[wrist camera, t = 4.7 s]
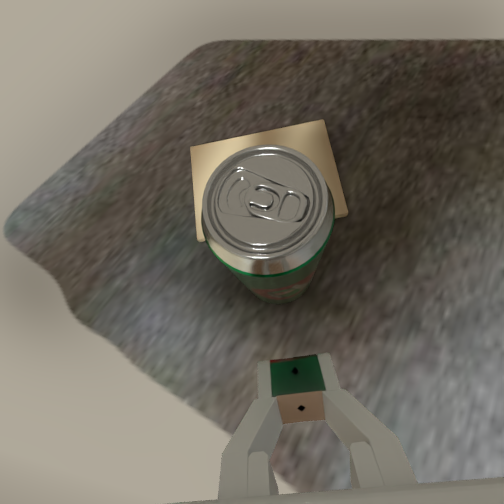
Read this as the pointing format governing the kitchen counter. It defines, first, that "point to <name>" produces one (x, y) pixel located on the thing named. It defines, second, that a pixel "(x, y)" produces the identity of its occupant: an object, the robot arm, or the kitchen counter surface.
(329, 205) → the soda can
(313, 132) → the cork mat
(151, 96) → the kitchen counter surface
